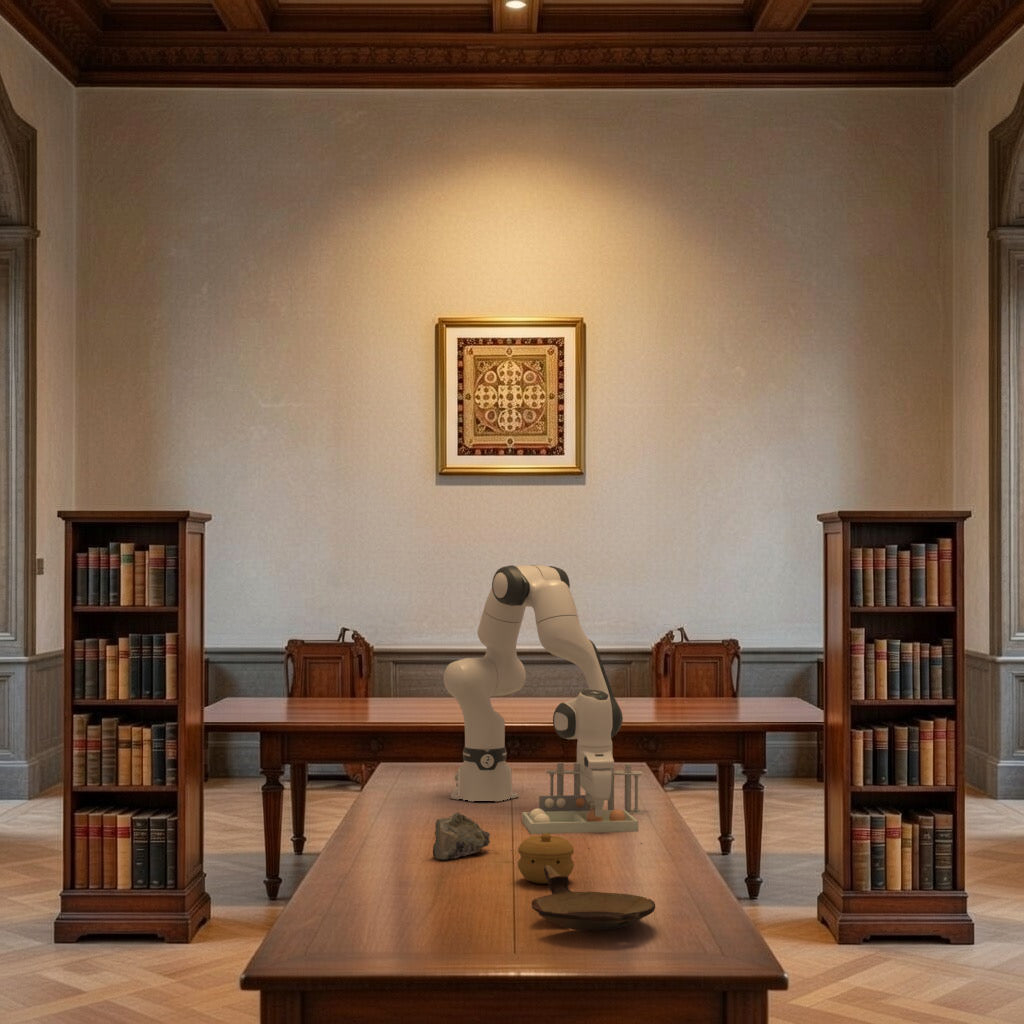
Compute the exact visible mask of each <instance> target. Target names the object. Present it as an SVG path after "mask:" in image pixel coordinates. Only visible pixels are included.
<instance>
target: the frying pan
mask: <svg viewBox="0 0 1024 1024" xmlns="http://www.w3.org/2000/svg"><path fill="white" fill-rule="evenodd" d="M544 872H545V875H546V878H547V880H548V883H549V884H548V887H549V889H550V892H551V894H547V895H543V896H540V897H536V898H534V899H532V901H531V908H532V909H533V910H534V911H536V912H537V913H538V916H540V917H542V918H544V919H546V921H549V922H551V923H553V924H556V925H558V926H560V927H563V928H567V929H571V930H572V931H573V930H574V931H580V932H601V931H602V932H603V931H610V930H616V929H619V928H623V927H625V926H629V925H631V924H633V923H636V922H638V921H640V920H642V919H643V918H645V917H648V916H649V915H651V914H652V913H653V912H655V909H656V903H655V901H653V899H651V898H647V897H644V896H639V895H634V894H629V893H616V892H614V893H613V892H601V891H599V892H598V891H571V890H570V889H569V885H568V884H569V877H567V876H563V875H561V876H560V875H559V874H558V873H557V872H556V871H555V870H554V869H553V868H552V867H551V866H549V865H546V866H545V867H544Z"/></svg>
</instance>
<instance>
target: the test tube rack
mask: <svg viewBox="0 0 1024 1024" xmlns="http://www.w3.org/2000/svg"><path fill="white" fill-rule="evenodd" d="M564 766H565V765H564V762H563V761H562V762H561V761H560V762H559V761H557V763H556V769H546V772H545V773H546V774H549V777H550V778H549V781H550V782H549V785H550V786H549V787H550V789H549V790H550V793H549V796H554V777H555V775H556V796H563V795H564V789H565V788H564V785H565V784H564V780H565V779H564V778H565V777H564V775H573V795H581V785H580V769H581V765H580V764H578V763H577V762H573V769H564ZM611 771H612V780H611V793H610V798H609V800H607V810H615V776H624V810H626V811H627V812H628V813H629V814H630V815H631V814H635V815H637V814H638V815H639V814H641V815H642V814H643V811H642V810H641V809H639V793H638V792H639V776H642V775H643V773H642V772H643V771H641V770H632V763H628V762H627V763H624V770H615V767H614V768H613V769H611ZM632 776H634V809H632Z"/></svg>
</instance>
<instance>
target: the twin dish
mask: <svg viewBox="0 0 1024 1024" xmlns="http://www.w3.org/2000/svg"><path fill="white" fill-rule="evenodd" d="M621 810H622V811H623V812H624V814H625V821H610V819H609V815H610V813H611V812H612V811H613V810H608V809H602V817H603V820H602V821H594V822H587V818H586V817H587V814H588V813H589V812H590V811H554V812H545V814H546V815H547V816H548V817H549V818H550V823H534V822H533V821H532V820H531V819H530V813H531V811H522V812H521V814H522V815H521V822H522V824H523V825H524V826H525V828H526V829H527V831H528V832H529V833H530V835H536V834H538V835H542V834H544V833H548V834H575V833H576V834H579V833H581V834H582V833H583V834H584V833H617V832H618V833H619V832H620V833H622V832H639V820H638V819H637V818H635V817H634V816H633V815H631V814H629V813H628V812H627V811H626V810H625V809H621Z"/></svg>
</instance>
